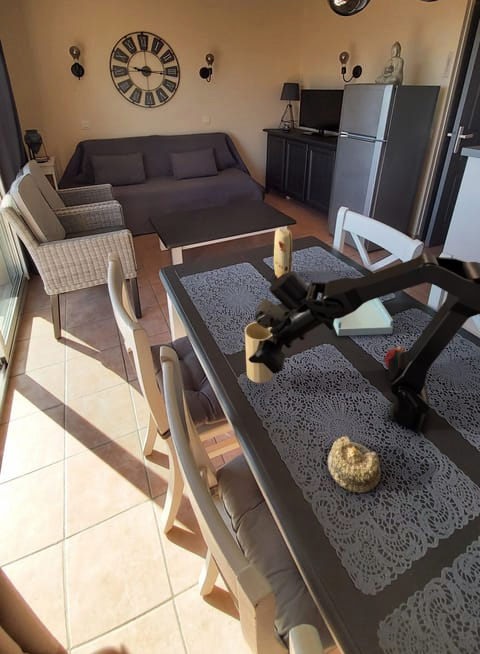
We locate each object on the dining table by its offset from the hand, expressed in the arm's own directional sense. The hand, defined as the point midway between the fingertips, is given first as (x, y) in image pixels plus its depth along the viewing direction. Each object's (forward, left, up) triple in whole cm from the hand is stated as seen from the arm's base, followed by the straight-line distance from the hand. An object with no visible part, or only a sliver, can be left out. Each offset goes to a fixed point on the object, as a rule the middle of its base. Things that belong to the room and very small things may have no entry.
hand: (254, 350), depth 87 cm
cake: (-6, -28, -10) cm, 31 cm away
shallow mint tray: (+40, -11, -10) cm, 43 cm away
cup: (+1, -1, -7) cm, 7 cm away
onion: (+24, -27, -10) cm, 38 cm away
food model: (+48, +22, -10) cm, 54 cm away
